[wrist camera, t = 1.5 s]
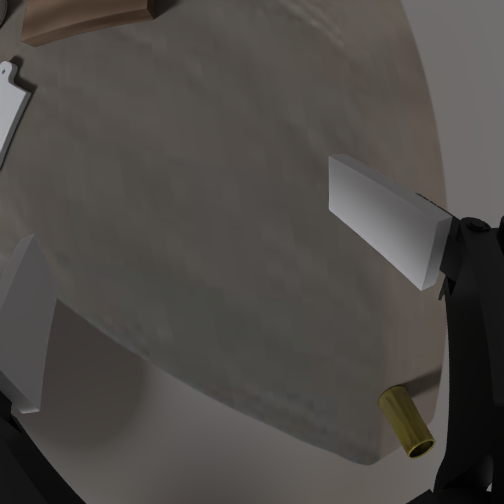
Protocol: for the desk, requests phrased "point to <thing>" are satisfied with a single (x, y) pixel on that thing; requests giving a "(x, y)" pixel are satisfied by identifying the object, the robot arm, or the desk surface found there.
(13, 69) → the mounting plate
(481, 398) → the robot arm
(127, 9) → the walnut riser
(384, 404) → the vase
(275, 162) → the desk surface
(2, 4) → the supplement can
